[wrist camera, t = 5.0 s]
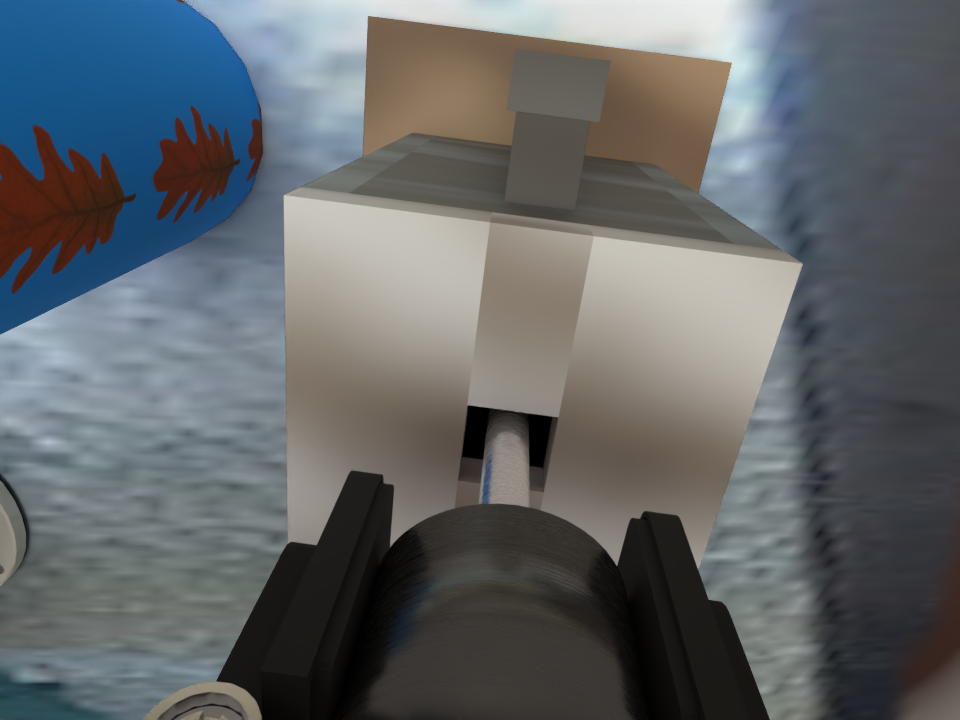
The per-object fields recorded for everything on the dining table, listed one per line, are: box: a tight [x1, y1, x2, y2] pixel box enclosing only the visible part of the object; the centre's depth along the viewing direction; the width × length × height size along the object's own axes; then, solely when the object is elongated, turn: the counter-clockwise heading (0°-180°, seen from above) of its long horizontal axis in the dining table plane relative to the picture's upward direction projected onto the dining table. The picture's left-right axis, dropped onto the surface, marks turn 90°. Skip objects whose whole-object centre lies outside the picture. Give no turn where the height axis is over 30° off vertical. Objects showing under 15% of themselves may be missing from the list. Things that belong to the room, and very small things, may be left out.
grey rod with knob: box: [333, 408, 651, 720], centre depth 16 cm, size 4×4×20 cm
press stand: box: [284, 16, 803, 570], centre depth 22 cm, size 18×14×16 cm
